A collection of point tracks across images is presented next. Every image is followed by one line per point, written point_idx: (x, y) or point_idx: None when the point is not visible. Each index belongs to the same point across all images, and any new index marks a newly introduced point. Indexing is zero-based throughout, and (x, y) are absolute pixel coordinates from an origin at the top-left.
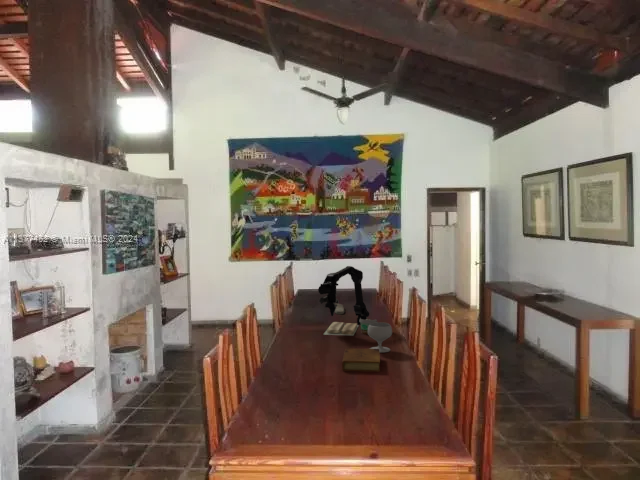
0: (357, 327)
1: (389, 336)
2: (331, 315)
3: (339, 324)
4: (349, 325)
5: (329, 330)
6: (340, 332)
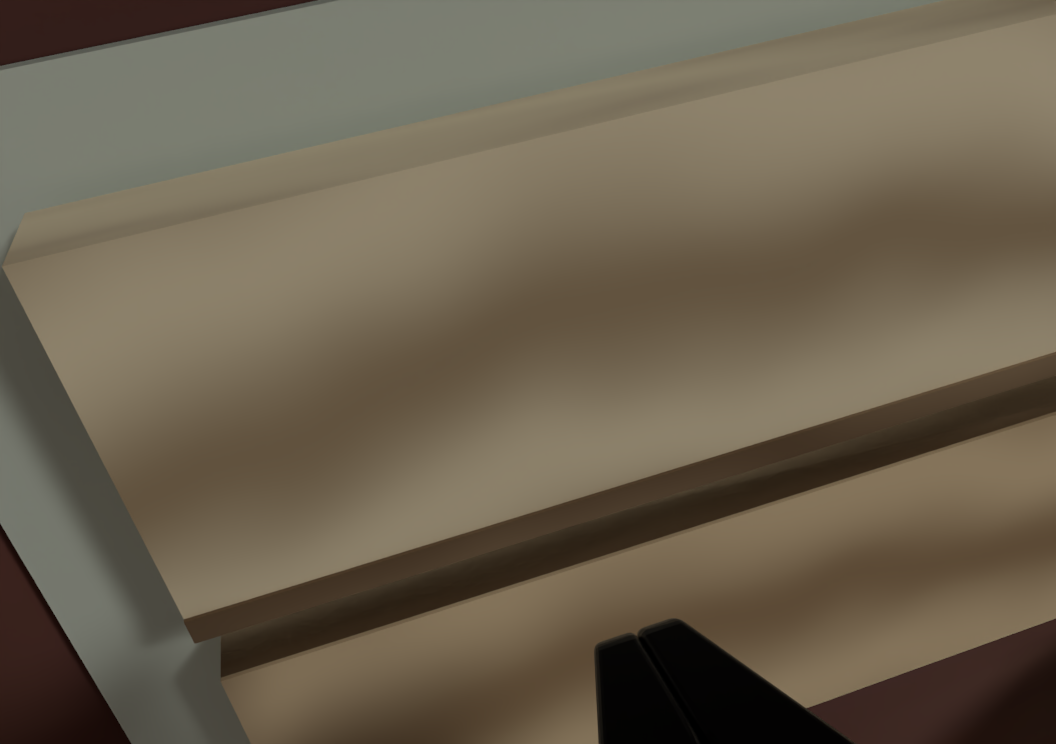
0: None
1: None
2: (595, 675)
3: (1004, 297)
4: (944, 544)
5: (54, 341)
6: None
